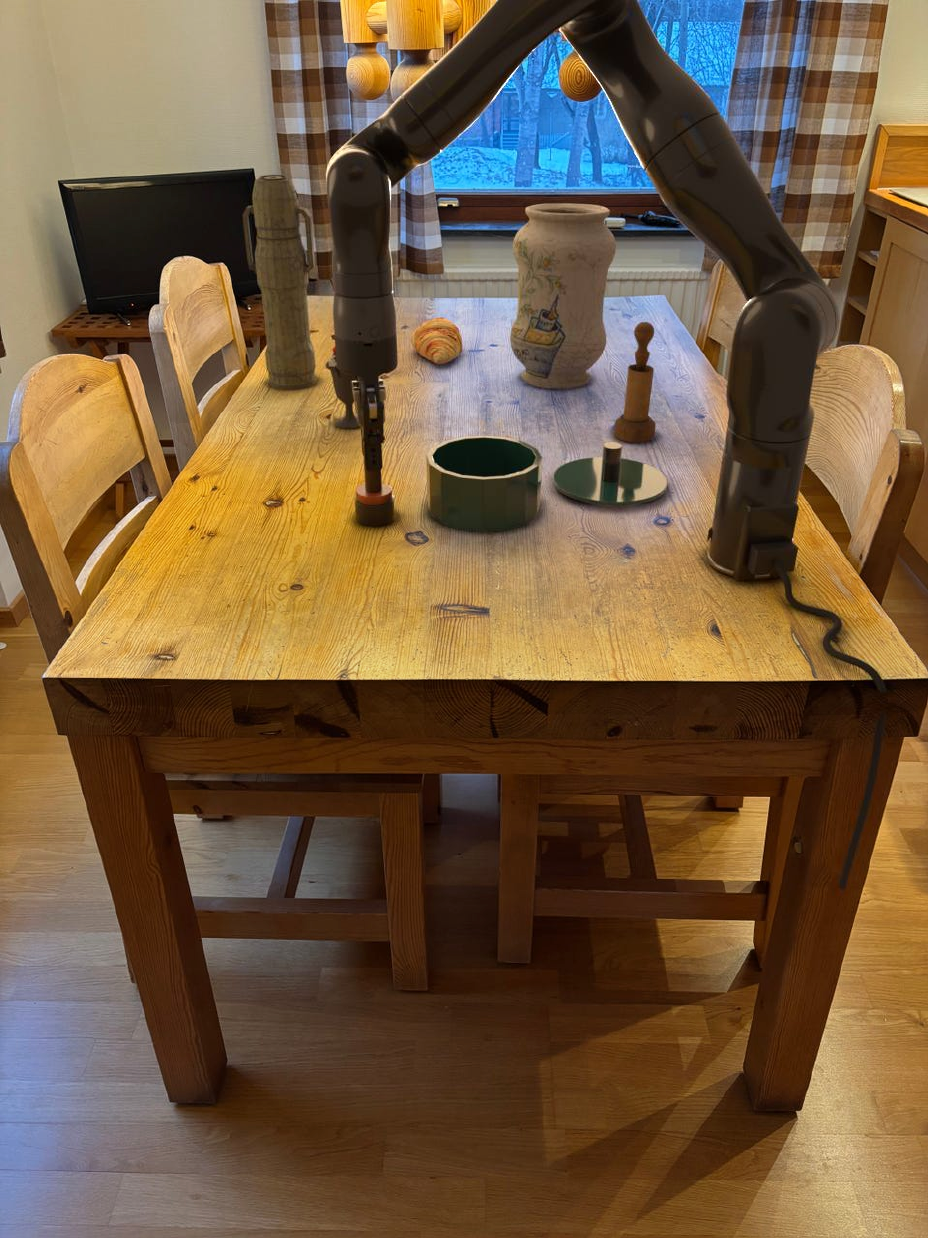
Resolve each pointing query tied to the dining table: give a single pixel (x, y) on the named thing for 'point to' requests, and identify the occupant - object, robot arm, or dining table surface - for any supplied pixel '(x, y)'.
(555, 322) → the vase
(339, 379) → the sundae
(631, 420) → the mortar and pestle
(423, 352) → the croissant
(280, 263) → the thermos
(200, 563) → the dining table surface
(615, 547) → the dining table surface
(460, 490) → the pot
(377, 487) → the brush
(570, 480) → the lid
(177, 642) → the dining table surface
